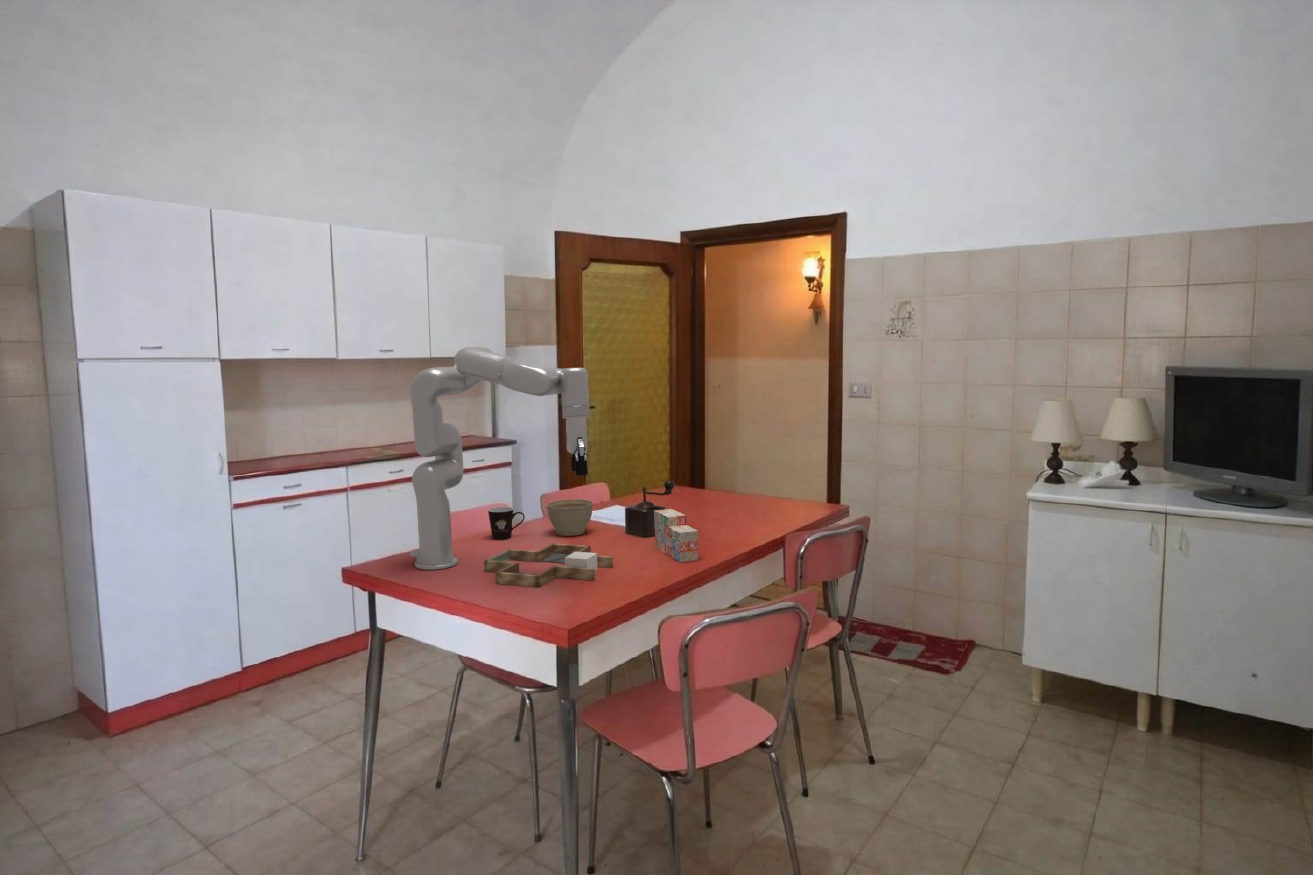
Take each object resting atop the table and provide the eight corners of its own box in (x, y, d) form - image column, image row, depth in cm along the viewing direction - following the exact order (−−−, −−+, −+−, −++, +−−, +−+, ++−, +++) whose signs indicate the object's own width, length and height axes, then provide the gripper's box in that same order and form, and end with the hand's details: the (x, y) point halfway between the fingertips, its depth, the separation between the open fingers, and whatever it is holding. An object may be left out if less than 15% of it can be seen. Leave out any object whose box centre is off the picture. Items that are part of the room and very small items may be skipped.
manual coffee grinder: (645, 538, 264) (644, 486, 262) (624, 533, 272) (623, 482, 270) (678, 530, 274) (677, 480, 272) (656, 526, 282) (655, 477, 280)
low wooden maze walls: (465, 580, 218) (464, 570, 218) (524, 550, 250) (524, 541, 250) (578, 590, 207) (578, 579, 206) (625, 558, 239) (625, 548, 239)
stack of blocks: (698, 560, 235) (698, 520, 234) (679, 562, 233) (678, 522, 231) (672, 544, 255) (671, 508, 253) (654, 546, 253) (653, 509, 251)
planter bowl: (578, 526, 284) (577, 497, 283) (602, 534, 272) (601, 503, 270) (539, 532, 275) (538, 502, 274) (562, 541, 262) (561, 509, 261)
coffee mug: (484, 540, 266) (483, 511, 264) (495, 534, 274) (494, 506, 273) (516, 541, 263) (515, 512, 262) (526, 535, 271) (525, 507, 270)
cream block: (565, 574, 223) (564, 557, 222) (575, 568, 230) (575, 551, 229) (587, 576, 221) (587, 559, 220) (597, 569, 227) (597, 553, 227)
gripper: (559, 411, 224) (562, 469, 225) (566, 414, 207) (569, 478, 209) (585, 409, 225) (588, 468, 227) (593, 413, 209) (597, 476, 210)
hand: (579, 472), depth 218 cm, fingers open, 9 cm apart
